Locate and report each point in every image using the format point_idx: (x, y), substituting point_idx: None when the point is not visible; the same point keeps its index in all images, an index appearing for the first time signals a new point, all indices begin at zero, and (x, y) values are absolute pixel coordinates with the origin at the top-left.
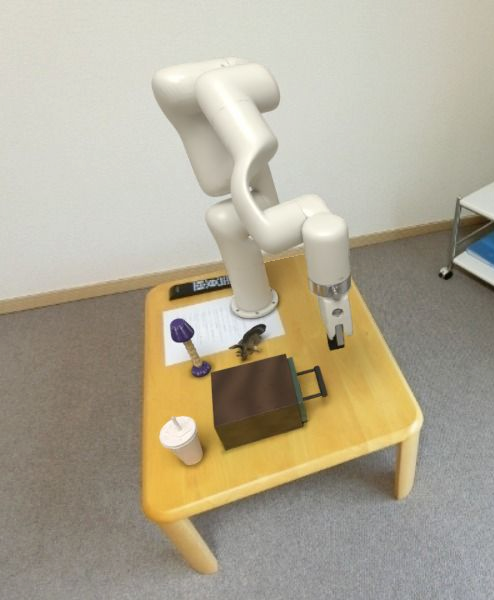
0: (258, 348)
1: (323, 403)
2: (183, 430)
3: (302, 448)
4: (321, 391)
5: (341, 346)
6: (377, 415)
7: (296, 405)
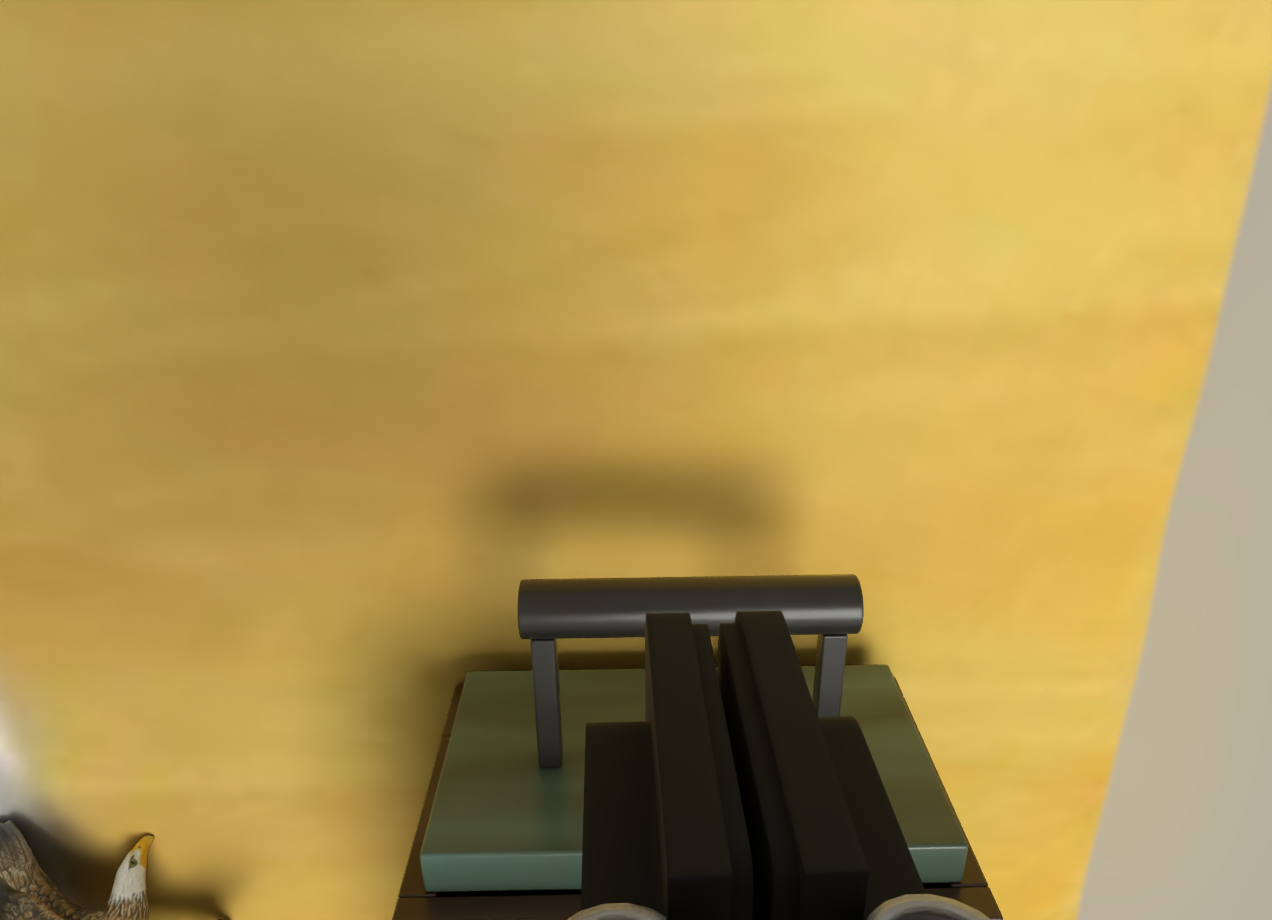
0: (130, 855)
1: (764, 524)
2: None
3: (1041, 701)
4: (825, 632)
5: (857, 727)
6: (1069, 143)
7: (992, 904)
